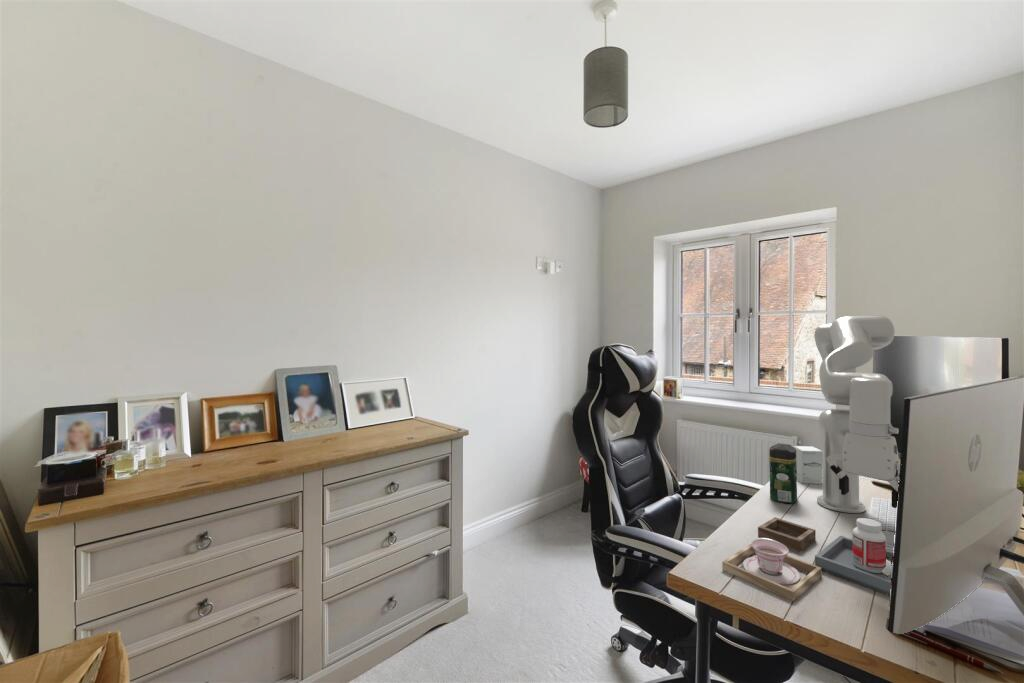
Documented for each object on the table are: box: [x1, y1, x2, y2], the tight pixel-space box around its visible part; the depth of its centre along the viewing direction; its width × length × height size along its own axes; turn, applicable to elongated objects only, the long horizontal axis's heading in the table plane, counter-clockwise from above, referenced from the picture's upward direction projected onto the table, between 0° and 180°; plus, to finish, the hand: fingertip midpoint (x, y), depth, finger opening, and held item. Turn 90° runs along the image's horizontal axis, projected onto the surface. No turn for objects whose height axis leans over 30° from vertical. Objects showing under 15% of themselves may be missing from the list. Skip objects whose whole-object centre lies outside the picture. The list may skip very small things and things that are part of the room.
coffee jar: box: [768, 443, 798, 504], centre depth 148 cm, size 10×8×19 cm
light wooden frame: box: [721, 543, 823, 602], centre depth 104 cm, size 16×16×2 cm
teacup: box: [742, 537, 801, 586], centre depth 105 cm, size 12×12×6 cm
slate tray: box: [814, 535, 894, 597], centre depth 104 cm, size 17×17×3 cm
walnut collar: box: [757, 517, 817, 553], centre depth 120 cm, size 10×10×3 cm
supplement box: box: [792, 445, 823, 485], centre depth 165 cm, size 7×7×13 cm
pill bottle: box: [852, 517, 887, 573], centre depth 104 cm, size 6×6×11 cm
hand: (869, 499), depth 104 cm, fingers open, 9 cm apart
